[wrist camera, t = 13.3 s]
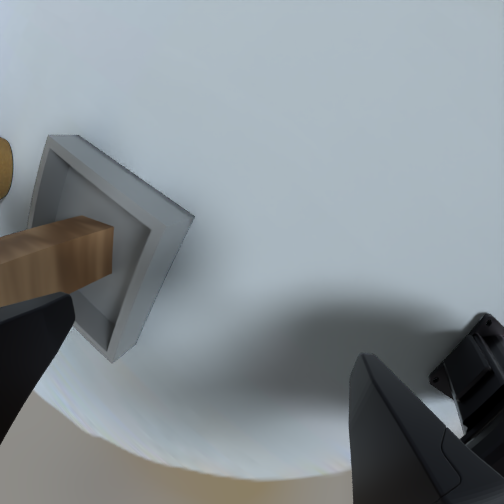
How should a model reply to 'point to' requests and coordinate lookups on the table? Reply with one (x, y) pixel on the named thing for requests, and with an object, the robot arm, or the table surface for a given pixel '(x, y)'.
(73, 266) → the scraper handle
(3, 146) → the plant pot
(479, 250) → the table surface
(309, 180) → the table surface
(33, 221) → the box
